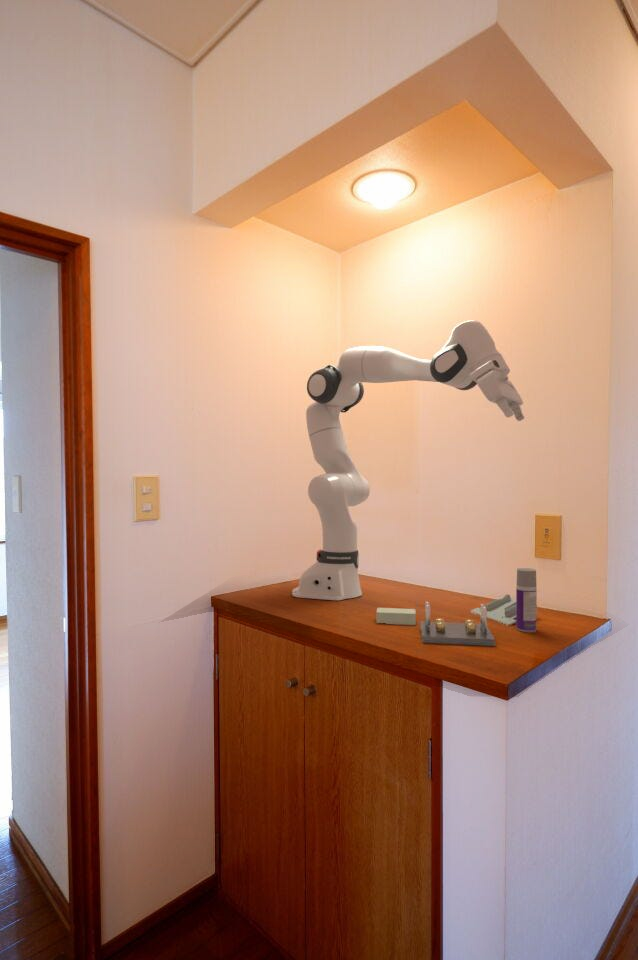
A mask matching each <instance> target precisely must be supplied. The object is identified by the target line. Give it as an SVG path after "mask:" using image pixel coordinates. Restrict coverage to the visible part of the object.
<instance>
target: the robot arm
mask: <svg viewBox="0 0 638 960" xmlns="http://www.w3.org/2000/svg"><path fill="white" fill-rule="evenodd" d="M496 347H497V346H496V344H495V341H494V339H493V338H492V336H491V334H490V333H489V331H488V329H487V328H486V327H485V326H484V325H483V323H481V322H480V321H477V320H473V319H471V320H466V321H463V322H461V323H459V324H457V325H456V326H454V328H453V329H452V331H451V333H450V337H449V339H448V340H447V341H446V343H445V344H444V346H442V348H441V349H440V350H439V351H438V352H436V353H435V354H434V355H433V356H432V358H431V359H421V358H416V357H413V356H410V355H408V354H405V353H403V352H401V351H398V350H396V349H394V348H389V347H386V346H378V345H377V346H376V345H369V346H368V345H366V346H357V347H353V348H352V347H351V348H348V349H346V350H345V351H343V352H342V353H341V355H340V356H339V360H338V364H337V365H333V364H329V365H327V366H325V367H323V368H321V369H318V370H316V371H314V372H313V373H312V374H311V375H310V376H309V377H308V380H307V381H306V382H307V383H306V391H307V394H308V396H309V397H310V399H312V400H313V401H314V402H312V403H311V404H310V405H308V407H307V408H306V411H305V414H306V415H305V418H306V428H307V433H308V437H309V443H310V446H311V449H312V450H311V451H312V453H313V458H314V460H315V462H316V463H317V464H318V465H319V466H320V467H321V468H322V469H323V471H324V472H325V473H323V474H319V475H317V476H315V477H313V478H312V479H310V482H309V484H308V487H307V494H308V498H309V500H310V502H311V503H312V504H313V505H314V506H315V508H316V509H317V513H318V514H319V518H320V521H321V529H322V549H318V550H317V551H316V562H315V563H314V564H312V565H311V566H309V567H308V568H307V569H306V570H305V571H303V573H302V574H301V576H300V577H299V582H298V586H297V587H294V588H293V589H292V590H291V595H292V596H293V597H295V598H301V599H302V598H303V599H315V600H328V601H329V600H330V601H343V600H345V599H353V598H358V597H360V596H362V595H363V592H362V589H361V584H360V578H359V569H358V568H359V566H360V559H359V558H360V554H359V550H358V527H357V524H356V523H355V522H354V521H353V519H352V517H351V515H350V514H351V513H350V511H349V507H355V506H358V505H360V504H362V503H364V502H365V501H367V499H368V498H369V496H370V491H371V490H370V488H371V487H370V484H369V482H368V480H367V479H366V478H365V477H364V476H363V475H362V474H361V473H360V471H359V469H358V468H357V466H356V464H355V462H354V461H353V459H352V457H351V454H350V453H349V450H348V446H347V442H346V439H345V436H344V433H343V432H344V431H343V429H342V424H341V422H340V413H347V412H348V411H349V410H351V408H353V407H355V406H357V405H358V404H359V403H360V402H361V401H362V399H363V398H364V393H365V389H364V385H363V383H369V384H385V383H395V382H397V383H398V382H406V381H407V382H408V381H420V382H421V381H422V382H435V383H440V384H443V385H446V386H449V387H451V388H452V387H453V388H455V389H457V390H460V391H468V390H471V389H473V388H475V387H476V386H478V388H479V389H480V390H481V392H482V394H483V395H484V397H485V399H486V400H487V401H489V402H491V403H493V404H496V405H497V407H499V409H500V410H501V412H503V414H504V416H505V417H506V418H511V417H513V416H514V417H515V419H516V421H517V422H521V421H523V420H524V419H525V416H524V414H523V412H522V408H521V406H522V405H523V404H524V402H523V399H522V397H521V395H520V394H519V392H518V391H517V389H516V387H515V386H514V384H513V383H512V382H511V380H509V376H508V375H509V374H510V371H511V370H510V367H509V366H508V363H507V362H506V360H505V359H504V357H503V355H502V354H501V353H500V352H499V350H498V349H497V348H496Z"/></svg>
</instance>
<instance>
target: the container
mask: <svg viewBox="0 0 638 960" xmlns="http://www.w3.org/2000/svg"><path fill="white" fill-rule="evenodd" d="M515 585H516V587H515V588H516V591H515V593H516V594H515V595H516V597H515V599H516V618H515V620H516V623H515V624H516V625H515V627H516V628H515V629H516V630H517V631H518V630H519V632H521V631H522V632H523V633H536V632H537V607H538V605H537V603H538V602H537V569H536V568H530V567H519V568H517V569H516V584H515Z"/></svg>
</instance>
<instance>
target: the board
mask: <svg viewBox="0 0 638 960" xmlns="http://www.w3.org/2000/svg"><path fill="white" fill-rule="evenodd" d="M416 613H417V612H416V608H400V607H399V608H397V607H395V608H394V607H393V608H392V607H377V609H376V624H378V623H386V624H385V625H402V626H406V625H407V626H416V624H417V623H416V622H417V618H416V617H417V614H416Z"/></svg>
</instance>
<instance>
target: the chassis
mask: <svg viewBox="0 0 638 960" xmlns="http://www.w3.org/2000/svg"><path fill="white" fill-rule="evenodd" d="M424 604H425V605H424V615H425V616H424V617H425V618H424V620H423V621H421V620H420V622H419V630H420V635H421V641H422V644H434V643H435V644H438V645H458V646H459V645H461V646H482V647H484V646H485V647H495V646H496V638H495V637H494V634H492V631H490V629H489V627H488V618H487V607H486V604H485V603H480V607H479V608H480V615H479V616H480V619H479V620H480V623H478V622H477V623H476V622H475V620H474V619H471V618H468V619H465V621H464V622H453V621H452V622H447V621H445V618H442V617H437V618H435V621H431V604H430V601H425V602H424Z"/></svg>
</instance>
